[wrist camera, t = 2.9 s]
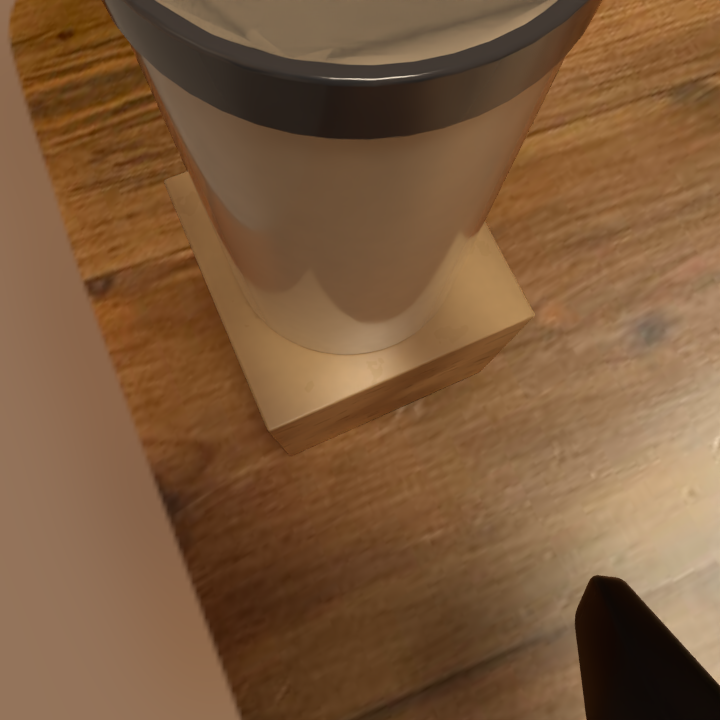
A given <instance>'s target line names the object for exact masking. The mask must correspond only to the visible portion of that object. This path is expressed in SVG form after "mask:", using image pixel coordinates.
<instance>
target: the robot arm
mask: <svg viewBox="0 0 720 720" xmlns="http://www.w3.org/2000/svg"><path fill="white" fill-rule="evenodd" d="M575 630H576V638H577V646H578V654H579V663H580V671H581V679H582V687H583V695H584V703H585V711H586V719H587V720H720V685H719V684H718V683H717V682H716V681H715V680H714V679H713V678H712V677H711V675H710V674H709V673H708V672H707V671H706V670H705V669H704V668H703V667H702V666H701V664H700V663H699V662H698V661H697V660H696V659H695V658H694V657H693V656H692V655H691V653H690V652H689V651H688V650H687V649H686V648H685V647H684V646H683V645H682V644H681V642H680V641H679V640H678V639H677V638H676V637H675V636H674V635H673V634H672V633H671V631H670V630H669V629H668V628H667V627H666V626H665V625H664V624H663V623H662V622H661V620H660V619H659V618H658V617H657V616H656V615H655V614H654V613H653V612H652V611H651V609H650V608H649V607H648V606H647V605H646V604H645V603H644V602H643V601H642V600H641V598H640V597H639V596H638V595H637V594H636V593H635V592H634V591H633V590H632V589H631V587H630V586H629V585H628V584H627V583H626V582H625V581H623V580H622V579H620V578H616V577H608V576H599V575H596V576H593V577H592V578H591V579H590V581H589V583H588V585H587V587H586V589H585V592H584V594H583V596H582V599H581V601H580V603H579V605H578V608H577V611H576V615H575Z"/></svg>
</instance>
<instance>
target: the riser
mask: <svg viewBox="0 0 720 720" xmlns="http://www.w3.org/2000/svg"><path fill="white" fill-rule="evenodd" d="M164 184H165V186H166V188H167V191H168V193H169V196H170V198H171V200H172V203H173V205H174V208H175V210H176V212H177V215H178V217H179V220H180V222H181V224H182V227H183V229H184V232H185V234H186V236H187V239H188V241H189V244H190V246H191V248H192V251H193V253H194V256H195V258H196V260H197V263H198V265H199V268H200V270H201V272H202V275H203V277H204V280H205V282H206V284H207V287H208V289H209V292H210V294H211V296H212V299H213V301H214V304H215V306H216V308H217V311H218V313H219V316H220V318H221V320H222V323H223V325H224V328H225V330H226V332H227V335H228V337H229V339H230V342H231V344H232V347H233V349H234V351H235V354H236V356H237V359H238V361H239V363H240V366H241V368H242V371H243V373H244V375H245V378H246V380H247V383H248V385H249V387H250V390H251V392H252V395H253V397H254V399H255V402H256V404H257V407H258V409H259V411H260V414H261V416H262V419H263V421H264V423H265V426H266V428H267V431H268V432H269V433H270V434H271V435H272V436H273V437H274V438H275V440H276V441H277V442H278V443H279V444H280V445H281V446H282V448H283V449H284V450H285V451H286V452H287V453H288V454H289V455H290V456H293V455H295V454H297V453H299V452H301V451H304V450H306V449H308V448H310V447H313V446H315V445H317V444H319V443H322V442H324V441H326V440H328V439H331V438H333V437H335V436H337V435H340V434H342V433H344V432H346V431H349V430H351V429H353V428H355V427H358V426H360V425H362V424H364V423H367V422H369V421H371V420H373V419H376V418H378V417H380V416H382V415H384V414H387V413H389V412H391V411H393V410H396V409H398V408H400V407H402V406H405V405H407V404H409V403H411V402H414V401H416V400H418V399H420V398H423V397H425V396H427V395H429V394H432V393H434V392H436V391H438V390H441V389H443V388H445V387H447V386H450V385H452V384H454V383H456V382H459V381H461V380H463V379H465V378H467V377H470V376H472V375H474V374H476V373H479V372H480V371H481V370H482V369H483V368H484V367H485V366H486V365H487V364H488V363H489V362H490V361H491V360H492V359H493V358H494V357H495V356H496V355H497V354H498V353H499V352H500V351H501V350H502V349H503V348H504V347H505V346H506V345H507V344H508V343H509V342H510V341H511V340H512V339H513V337H514V336H515V335H516V334H517V333H518V332H519V331H520V330H521V329H522V328H523V327H524V326H525V325H526V324H527V323H528V322H529V321H530V320H531V319H532V318H533V317H534V316H535V314H534V312H533V310H532V308H531V306H530V304H529V302H528V300H527V299H526V297H525V295H524V293H523V291H522V289H521V288H520V286H519V284H518V282H517V280H516V278H515V276H514V275H513V273H512V271H511V269H510V267H509V265H508V263H507V262H506V260H505V258H504V256H503V254H502V252H501V250H500V249H499V247H498V245H497V243H496V241H495V239H494V237H493V236H492V234H491V232H490V230H489V228H488V226H487V225H486V223H485V222H484V224H483V226H482V228H481V230H480V232H479V234H478V236H477V238H476V240H475V242H474V244H473V246H472V248H471V250H470V252H469V254H468V256H467V259H466V261H465V263H464V265H463V267H462V269H461V271H460V273H459V275H458V277H457V279H456V281H455V283H454V285H453V287H452V289H451V291H450V293H449V295H448V297H447V298H446V300H445V302H444V304H443V305H442V307H441V308H440V309H439V311H438V312H437V313H436V314H435V316H434V317H433V318H432V319H431V320H430V321H429V322H428V323H427V324H426V325H425V326H424V327H423V328H421V329H420V330H419V331H417V332H416V333H415V334H413V335H412V336H410V337H408V338H407V339H405V340H403V341H401V342H399V343H398V344H395V345H393V346H390V347H387V348H385V349H382V350H378V351H374V352H370V353H363V354H354V355H337V354H330V353H323V352H319V351H315V350H311V349H307V348H305V347H302V346H300V345H298V344H295V343H293V342H291V341H289V340H288V339H286V338H284V337H282V336H281V335H279V334H278V333H276V332H275V331H274V330H272V329H271V328H270V327H268V326H267V325H266V324H265V323H264V322H263V321H262V320H261V319H260V318H259V317H258V316H257V315H256V313H255V312H254V311H253V309H252V308H251V307H250V305H249V304H248V302H247V301H246V299H245V297H244V295H243V294H242V292H241V290H240V288H239V285H238V283H237V281H236V279H235V276H234V274H233V272H232V270H231V268H230V265H229V263H228V261H227V259H226V256H225V254H224V252H223V250H222V248H221V245H220V243H219V241H218V239H217V236H216V234H215V232H214V230H213V227H212V225H211V223H210V221H209V219H208V216H207V214H206V212H205V210H204V207H203V205H202V203H201V201H200V199H199V196H198V194H197V192H196V190H195V187H194V185H193V183H192V181H191V179H190V176H189V174H188V172H184V173H182V174H179V175H176V176H174V177H171V178H168V179H166V180H164Z"/></svg>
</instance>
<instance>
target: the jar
mask: <svg viewBox="0 0 720 720" xmlns="http://www.w3.org/2000/svg"><path fill="white" fill-rule="evenodd" d="M102 2H103V4H104V6H105V7H106V9H107V11H108V13H109V14H110V16H111V18H112V20H113V21H114V23H115V24H116V26H117V27H118V28H119V29H120V31H121V32H122V33H123V34H124V36H125V37H126V38H127V40H128V41H129V43H130V45H131V47H132V50H133V52H134V54H135V56H136V58H137V61H138V63H139V65H140V67H141V70H142V72H143V74H144V76H145V78H146V81H147V83H148V85H149V87H150V90H151V92H152V94H153V96H154V98H155V101H156V103H157V105H158V107H159V110H160V112H161V114H162V116H163V119H164V121H165V123H166V125H167V127H168V130H169V132H170V134H171V136H172V139H173V141H174V143H175V145H176V147H177V150H178V152H179V154H180V156H181V159H182V161H183V163H184V165H185V167H186V170H187V172H188V174H189V176H190V179H191V181H192V183H193V185H194V187H195V190H196V192H197V194H198V196H199V199H200V201H201V203H202V205H203V207H204V210H205V212H206V214H207V216H208V219H209V221H210V223H211V225H212V227H213V230H214V232H215V234H216V236H217V239H218V241H219V243H220V245H221V248H222V250H223V252H224V254H225V256H226V259H227V261H228V263H229V265H230V268H231V270H232V272H233V274H234V276H235V279H236V281H237V283H238V285H239V288H240V290H241V292H242V294H243V295H244V297H245V299H246V301H247V302H248V304H249V305H250V307H251V308H252V309H253V311H254V312H255V313H256V315H257V316H258V317H259V318H260V319H261V320H262V321H263V322H264V323H265V324H266V325H267V326H268V327H270V328H271V329H272V330H274V331H275V332H276V333H278V334H279V335H281V336H282V337H284V338H286V339H288V340H289V341H291V342H293V343H295V344H298V345H300V346H302V347H305V348H307V349H311V350H315V351H319V352H323V353H330V354H337V355H354V354H363V353H370V352H374V351H378V350H382V349H385V348H387V347H390V346H393V345H395V344H398V343H399V342H401V341H403V340H405V339H407V338H408V337H410V336H412V335H413V334H415V333H416V332H417V331H419V330H420V329H421V328H423V327H424V326H425V325H426V324H427V323H428V322H429V321H430V320H431V319H432V318H433V317H434V316H435V314H436V313H437V312H438V311H439V309H440V308H441V307H442V305H443V304H444V302H445V300H446V298H447V297H448V295H449V293H450V291H451V289H452V287H453V285H454V283H455V281H456V279H457V277H458V275H459V273H460V271H461V269H462V267H463V265H464V263H465V261H466V259H467V256H468V254H469V252H470V250H471V248H472V246H473V244H474V242H475V240H476V238H477V236H478V234H479V232H480V230H481V228H482V226H483V224H484V222H485V220H486V218H487V216H488V214H489V212H490V210H491V207H492V205H493V203H494V201H495V199H496V197H497V195H498V193H499V191H500V189H501V187H502V185H503V183H504V181H505V179H506V177H507V175H508V173H509V171H510V169H511V167H512V165H513V163H514V161H515V159H516V156H517V154H518V152H519V150H520V148H521V146H522V144H523V142H524V140H525V138H526V136H527V134H528V132H529V130H530V128H531V126H532V124H533V122H534V120H535V118H536V116H537V114H538V112H539V110H540V107H541V105H542V103H543V101H544V99H545V97H546V95H547V93H548V91H549V89H550V87H551V85H552V83H553V81H554V79H555V77H556V75H557V73H558V71H559V69H560V67H561V65H562V63H563V61H564V59H565V56H566V55H567V53H568V52H569V51H570V50H571V49H572V47H573V46H574V45H575V44H576V42H577V41H578V40H579V39H580V38H581V36H582V35H583V34H584V32H585V30H586V29H587V27H588V25H589V24H590V22H591V20H592V18H593V17H594V15H595V13H596V12H597V10H598V8H599V6H600V4H601V2H602V0H102Z"/></svg>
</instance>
